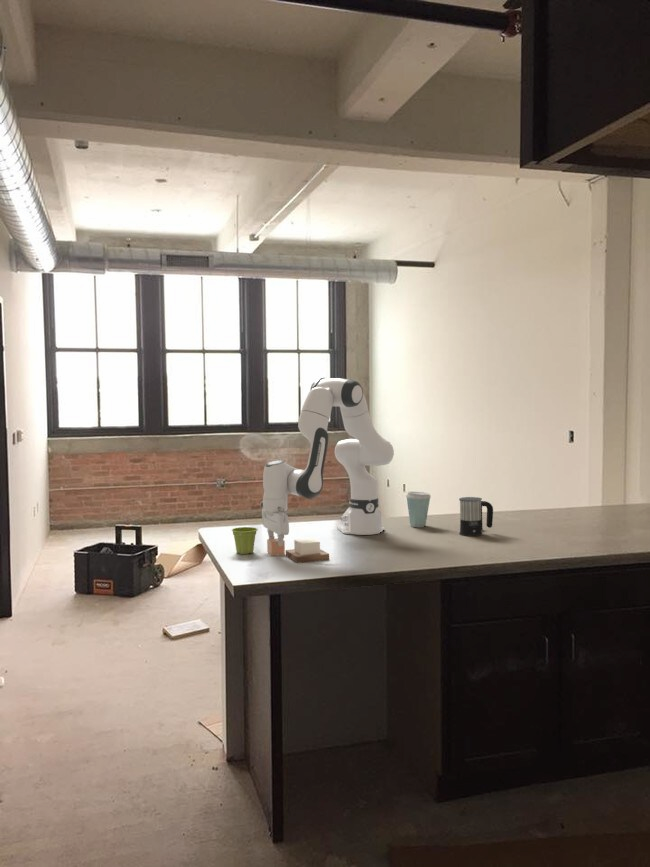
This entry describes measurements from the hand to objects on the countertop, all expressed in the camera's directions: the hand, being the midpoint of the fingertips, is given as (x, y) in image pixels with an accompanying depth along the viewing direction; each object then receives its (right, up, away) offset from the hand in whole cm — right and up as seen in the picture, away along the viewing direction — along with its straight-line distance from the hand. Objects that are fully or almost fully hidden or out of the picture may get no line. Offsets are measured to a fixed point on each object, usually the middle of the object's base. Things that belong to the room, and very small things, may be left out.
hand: (275, 543), depth 255 cm
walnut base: (+12, -4, -7) cm, 14 cm away
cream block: (+12, -2, -7) cm, 14 cm away
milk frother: (+78, -1, +36) cm, 86 cm away
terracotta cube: (0, -4, +1) cm, 4 cm away
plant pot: (-11, -4, +2) cm, 12 cm away
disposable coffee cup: (+59, -1, +50) cm, 77 cm away
